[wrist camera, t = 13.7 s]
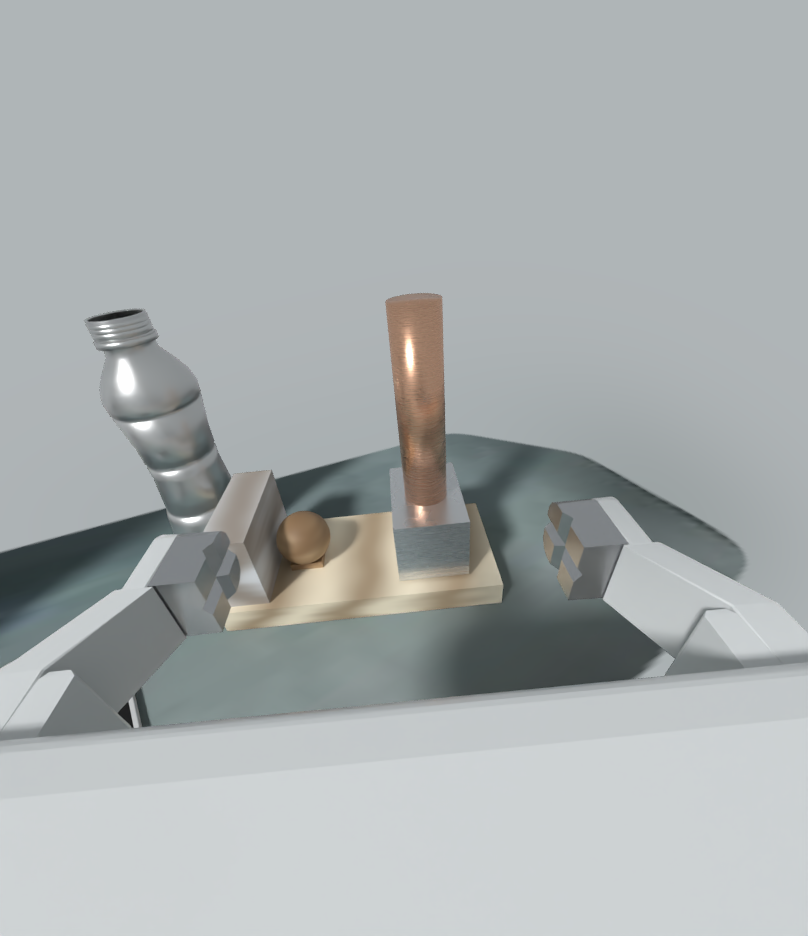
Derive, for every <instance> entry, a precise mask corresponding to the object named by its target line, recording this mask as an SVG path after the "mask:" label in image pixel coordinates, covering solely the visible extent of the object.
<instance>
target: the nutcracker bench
mask: <svg viewBox="0 0 808 936" xmlns="http://www.w3.org/2000/svg"><path fill="white" fill-rule="evenodd" d="M465 506H466V510H467V513H468V516H469V520H470V555H469V574H463V575H453V576H443V577H434V578H424V579H415V580H405V581H400V580H399V572H398V565H397V557H396V549H395V542H394V534H393V522H392V512H384V513H375V514H365V515H355V516H346V517H336V518H326V519H324V520H325V521H326V523H327V525H328V527H329V529H330V543H329V546H328V549H327V550H326V553H325V560H324V567H323V568H313V569H304V570H294V571H292V568H291V566H290V565H291V562H290V561H288V560H287V559H285V558H284V557H283V556H282V554H281V553H280V552H279V549H278V547H277V543H276V535H277V531H278V528H279V526H280V524H281V523H282V521H283V520H284V519H285V518H286V517H287V515H286V512H285V509H284V506H283V503H282V499H281V496H280V493H279V490H278V487H277V484H276V481H275V478H274V475H273V473H272V470H266V471H256V472H246V473H237V474H233V476H232V478H231V480H230V482H229V484H228V486H227V488H226V490H225V491H224V493H223V495H222V497H221V499H220V501H219V503H218V505H217V507H216V509H215V510H214V512H213V514H212V516H211V518H210V520H209V522H208V524H207V526H206V527H205V529H204V531H203V532H214V531H223V532H226V534H227V536H228V538H229V540H230V545H229V547H228V550H230V551H231V552H233V553H235V554H236V555H237V558H238V560H239V564H240V570H241V571H240V582H239V585H238V589H237V592H236V593H235V594H233V595H232V596H231V597H230V598H229V599H228V602H229V604H230V606H231V609H230V612H229V615H228V618H227V620H226V623H225V627H226V629H227V631H234V630H244V629H253V628H263V627H273V626H282V625H292V624H301V623H311V622H320V621H330V620H340V619H349V618H359V617H368V616H378V615H387V614H397V613H407V612H416V611H426V610H435V609H445V608H454V607H464V606H474V605H483V604H493V603H502V593H503V582H502V579H501V576H500V574H499V571H498V568H497V565H496V562H495V559H494V556H493V553H492V550H491V547H490V544H489V541H488V538H487V535H486V532H485V529H484V526H483V523H482V521H481V518H480V515H479V512H478V509H477V506H476V503H472V504H465Z"/></svg>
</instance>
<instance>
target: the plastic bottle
mask: <svg viewBox="0 0 808 936" xmlns="http://www.w3.org/2000/svg"><path fill="white" fill-rule="evenodd" d="M85 323H86V326H87V328H88V330H89V332H90V334H91V336H92V338H93V340H94V342H93V343H94V345H95V347H96V349H97V350H99V351H104V354H105V357H106V359H105V363H104V367H103V371H102V375H101V382H100V389H99V391H100V396H101V401H102V404H103V406H104V408H105V409H106V411H107V412H108V413H109V415H110V417H112V418H113V420H114V422H115V423H116V424H117V426H118V427H119V428H120V430H121V431H122V432H123V433H124V435H125V436H126V437H127V438H128V440H129V441H130V443H131V444H132V445H133V446H134V448H135V449H136V450H137V452H138V454H139V455H140V457H141V459H142V460H143V462H144V463H145V465H147V468H148V470H149V471H150V473H151V475H152V476H153V478H154V481H155V483H156V485H157V488H158V490H159V492H160V495H161V497H162V499H163V502H164V504H165V506H166V510H167V515H168V519H169V522H170V525H171V528H172V531H173V533H174V534H182V533H198V532H203V531H204V529H205V527H206V526H207V524H208V522H209V520H210V518H211V516H212V514H213V512H214V510H215V509H216V507H217V505H218V503H219V501H220V499H221V497H222V495H223V493H224V491H225V490H226V488H227V486H228V484H229V482H230V480H231V476H230V474H229V473H228V470H227V469H226V467H225V465H224V463H223V461H222V459H221V457H220V455H219V453H218V450H217V448H216V445H215V443H214V439H213V436H212V433H211V430H210V427H209V424H208V420H207V416H206V412H205V408H204V404H203V399H202V395H201V393H200V391H201V390H200V387H199V384H198V382H197V379H196V377H195V376H194V374H193V373H192V372H191V370H190V369H189V368H188V367H187V366H186V365H185V364H183V363H182V362H181V361H180V360H179V359H177V358H176V357H174V356H173V355H172V354H170V353H169V352H167V351H166V350H164V349H163V348H161V347H160V346H159V345H158V344H157V342H156V339H157V338H158V333H157V331H156V330H155V329H154V328H153V326H152V324H151V321H150V319H149V317H148V314H147V313H146V311H145V309H127V310H119V311H113V312H108V313H103V314H100V315H96V316H92V317H89V318H87V319H85Z"/></svg>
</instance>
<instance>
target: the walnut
mask: <svg viewBox="0 0 808 936" xmlns="http://www.w3.org/2000/svg"><path fill="white" fill-rule="evenodd" d="M276 543H277V547H278V549H279V552H280V553H281V554H282V556H283V557H284V558H285V559H287V560H288V561H290V562H291V565H290V566H291V568H292V571H294V570H304V569H313V568H323V567H324V560H325V553H326V550H327V549H328V546H329V543H330V529H329V527H328V525H327V523H326V521H325V520H324V519H323V518H322V517H321V516H319V515H318V514H316V513H314V512H310V511H299V512H295V513H293V514H291V515H289V516H288V517H286V518H285V519H284V520H283V521H282V523H281V524H280V526H279V528H278V531H277V535H276Z"/></svg>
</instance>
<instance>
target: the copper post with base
mask: <svg viewBox="0 0 808 936" xmlns="http://www.w3.org/2000/svg"><path fill="white" fill-rule="evenodd" d="M385 303H386V312H387V322H388V332H389V342H390V351H391V362H392V372H393V382H394V392H395V401H396V411H397V420H398V431H399V440H400V451H401V461H402V468H393V469H390V486H391V504H392V522H393V534H394V542H395V549H396V557H397V565H398V572H399V580H400V581H405V580H415V579H424V578H434V577H443V576H453V575H463V574H469V555H470V520H469V516H468V513H467V510H466V506H465V503H464V500H463V496H462V493H461V490H460V486H459V483H458V480H457V477H456V473H455V470H454V467H453V463H452V462H451V463H446V442H445V399H444V360H443V358H444V356H443V315H442V314H443V313H442V296H441V295H438V294H431V293H417V294H407V295H400V296H396V297H392V298H390V299H388V300H386V302H385Z"/></svg>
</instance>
